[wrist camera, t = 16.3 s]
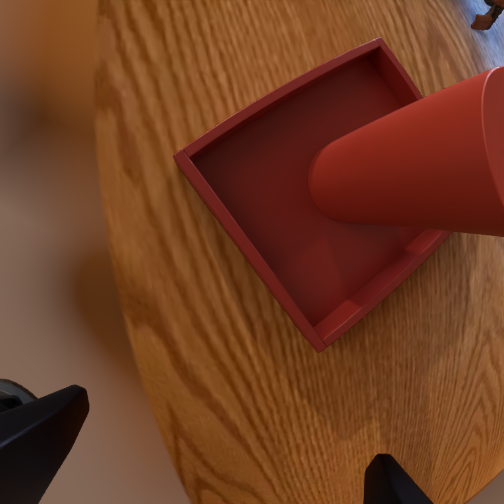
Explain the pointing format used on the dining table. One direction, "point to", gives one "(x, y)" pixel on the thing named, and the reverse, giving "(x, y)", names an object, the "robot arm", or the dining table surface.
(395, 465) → the robot arm
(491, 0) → the brown irregular piece
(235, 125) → the red tray
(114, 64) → the dining table surface
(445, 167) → the red pin
